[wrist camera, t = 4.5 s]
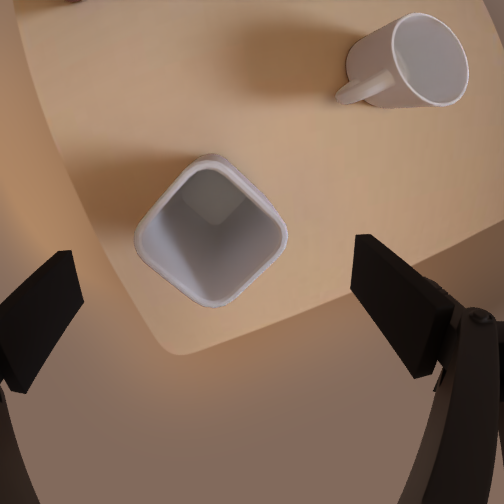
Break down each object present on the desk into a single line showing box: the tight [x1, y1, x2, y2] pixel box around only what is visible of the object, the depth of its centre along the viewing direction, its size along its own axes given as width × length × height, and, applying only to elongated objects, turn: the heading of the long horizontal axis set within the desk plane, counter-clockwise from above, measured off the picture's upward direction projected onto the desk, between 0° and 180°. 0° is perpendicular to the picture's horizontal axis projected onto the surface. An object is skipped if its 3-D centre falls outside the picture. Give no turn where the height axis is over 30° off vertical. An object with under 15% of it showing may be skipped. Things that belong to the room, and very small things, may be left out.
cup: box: [134, 154, 288, 308], centre depth 25 cm, size 7×7×15 cm
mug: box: [335, 13, 469, 108], centre depth 24 cm, size 12×8×10 cm
